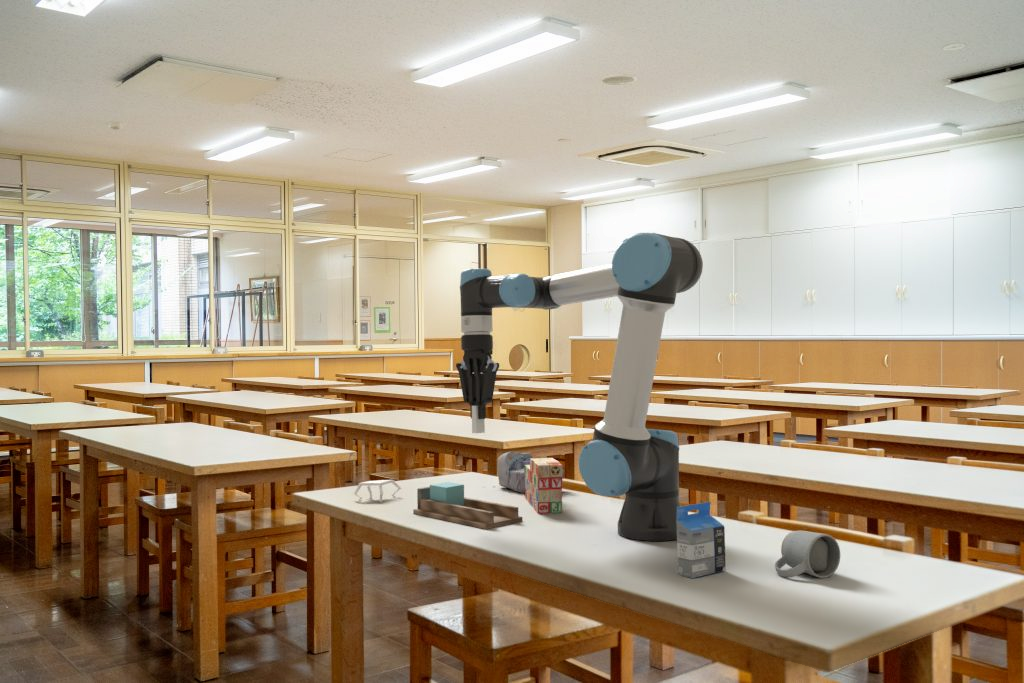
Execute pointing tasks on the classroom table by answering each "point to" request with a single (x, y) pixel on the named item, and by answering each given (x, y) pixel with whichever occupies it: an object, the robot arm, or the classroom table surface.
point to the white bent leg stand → (380, 483)
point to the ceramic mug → (808, 554)
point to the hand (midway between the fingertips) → (478, 432)
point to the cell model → (513, 470)
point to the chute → (467, 511)
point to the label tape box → (699, 541)
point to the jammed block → (447, 493)
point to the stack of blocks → (544, 485)
